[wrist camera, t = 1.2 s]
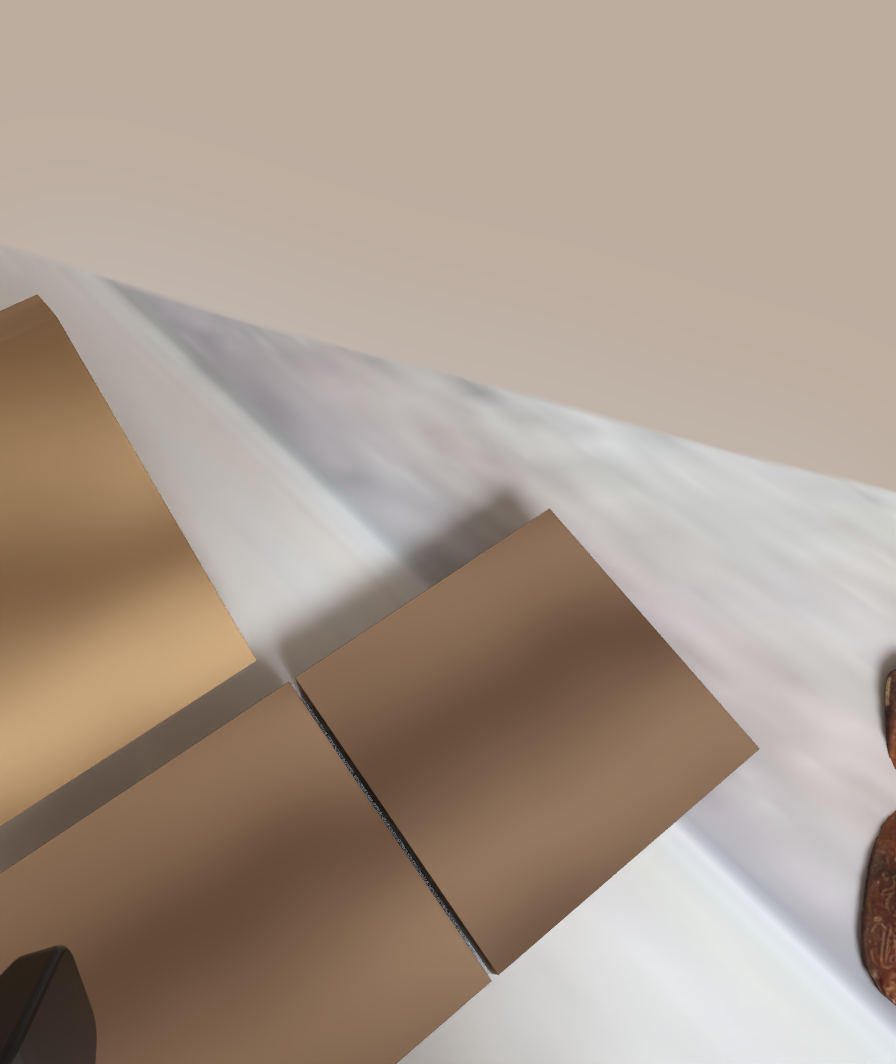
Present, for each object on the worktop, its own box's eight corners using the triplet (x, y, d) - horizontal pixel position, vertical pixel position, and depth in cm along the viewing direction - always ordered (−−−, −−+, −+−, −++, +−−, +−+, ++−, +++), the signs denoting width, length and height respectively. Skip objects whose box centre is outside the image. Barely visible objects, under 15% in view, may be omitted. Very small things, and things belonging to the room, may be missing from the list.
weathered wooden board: (737, 760, 24) (759, 748, 22) (163, 1255, 18) (144, 1281, 17) (541, 532, 27) (549, 508, 25) (-9, 902, 21) (-38, 898, 20)
